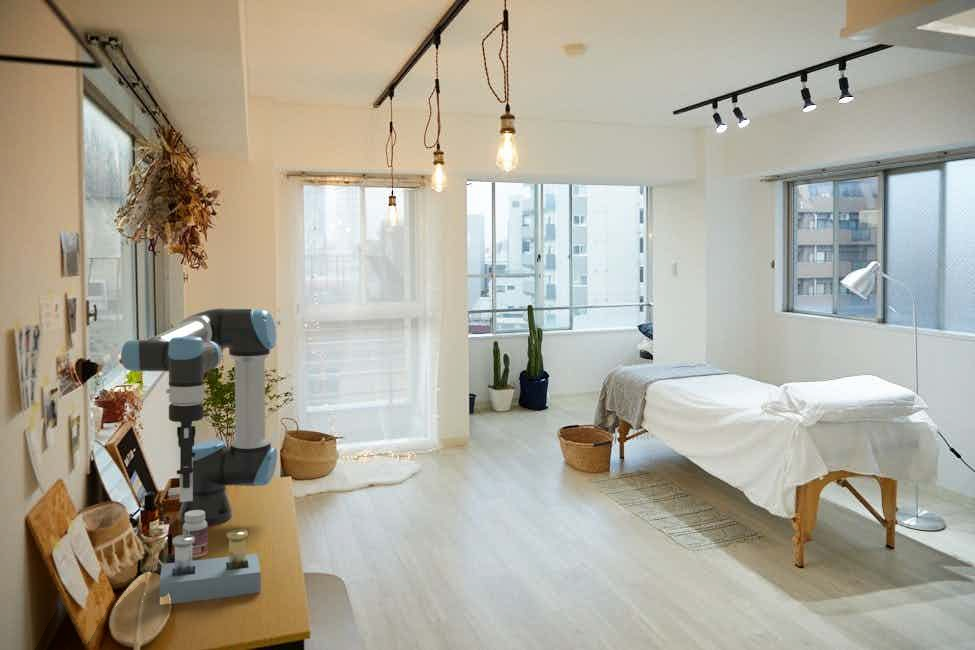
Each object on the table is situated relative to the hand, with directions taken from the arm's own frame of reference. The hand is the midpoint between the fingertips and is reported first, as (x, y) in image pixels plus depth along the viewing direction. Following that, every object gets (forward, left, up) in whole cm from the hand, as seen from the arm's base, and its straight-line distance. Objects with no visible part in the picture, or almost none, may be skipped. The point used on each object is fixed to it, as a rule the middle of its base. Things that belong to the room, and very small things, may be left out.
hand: (186, 492), depth 171 cm
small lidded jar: (0, -1, -19) cm, 19 cm away
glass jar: (0, +11, -19) cm, 22 cm away
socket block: (0, +5, -24) cm, 24 cm away
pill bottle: (-24, +2, -24) cm, 34 cm away
